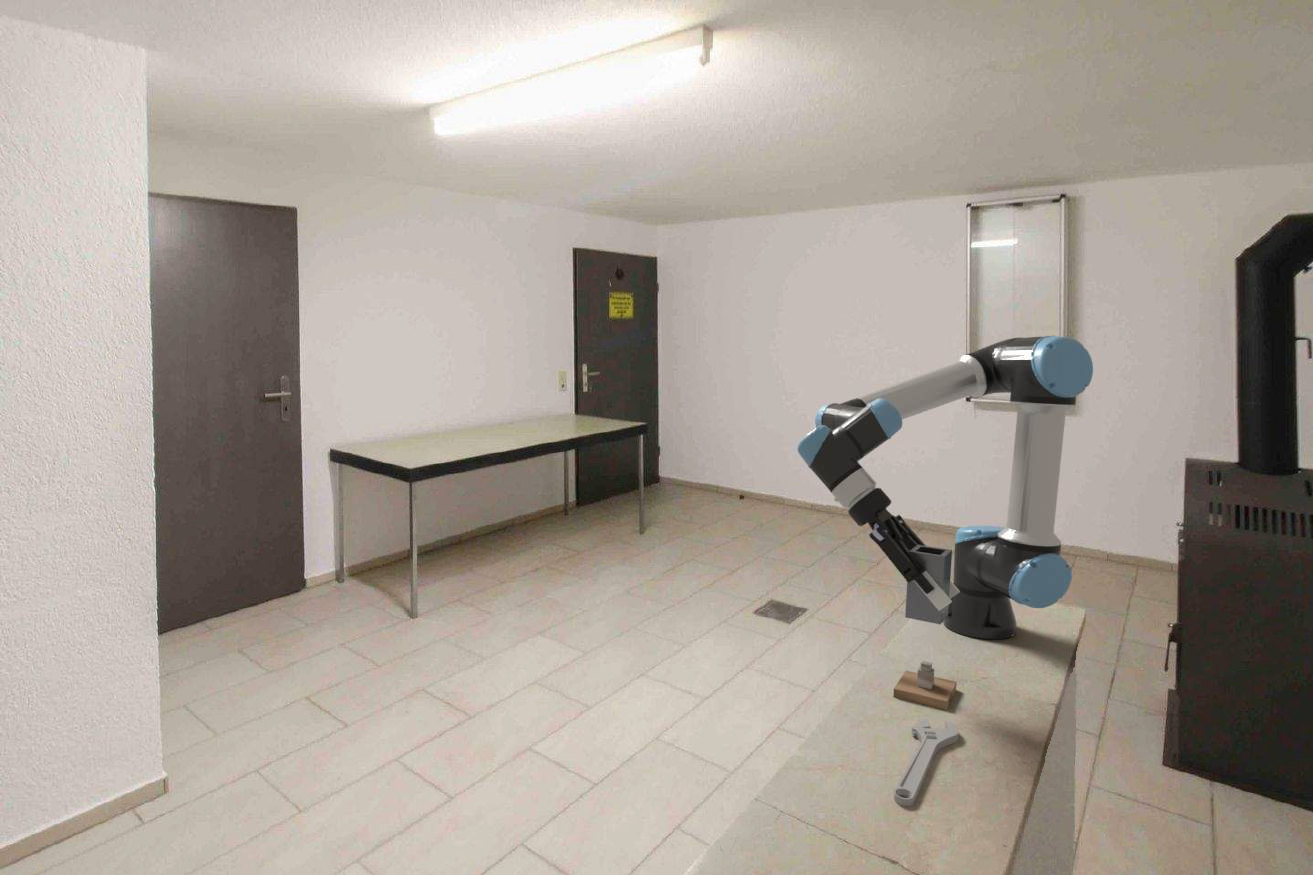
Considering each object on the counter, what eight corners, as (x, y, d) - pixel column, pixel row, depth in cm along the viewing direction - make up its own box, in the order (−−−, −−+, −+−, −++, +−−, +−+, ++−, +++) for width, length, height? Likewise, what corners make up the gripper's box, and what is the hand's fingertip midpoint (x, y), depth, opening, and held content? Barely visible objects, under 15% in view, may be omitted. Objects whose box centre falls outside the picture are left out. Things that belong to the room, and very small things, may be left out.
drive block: (905, 680, 137) (906, 648, 136) (956, 692, 132) (957, 659, 131) (893, 699, 129) (894, 665, 128) (946, 712, 124) (948, 677, 124)
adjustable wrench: (911, 812, 97) (911, 800, 97) (864, 795, 101) (865, 783, 100) (962, 735, 116) (962, 724, 116) (921, 723, 120) (921, 713, 120)
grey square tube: (913, 608, 134) (917, 544, 132) (948, 614, 130) (952, 549, 129) (905, 617, 129) (908, 551, 127) (940, 624, 125) (944, 556, 124)
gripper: (863, 502, 144) (944, 598, 137) (829, 519, 128) (920, 628, 121) (891, 479, 140) (976, 576, 133) (860, 493, 125) (955, 603, 117)
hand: (949, 600), depth 127 cm, fingers closed on grey square tube, 6 cm apart
